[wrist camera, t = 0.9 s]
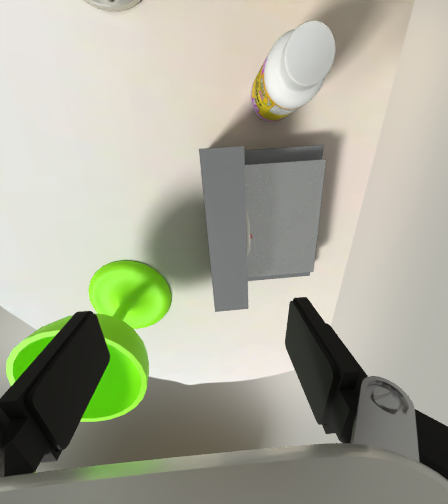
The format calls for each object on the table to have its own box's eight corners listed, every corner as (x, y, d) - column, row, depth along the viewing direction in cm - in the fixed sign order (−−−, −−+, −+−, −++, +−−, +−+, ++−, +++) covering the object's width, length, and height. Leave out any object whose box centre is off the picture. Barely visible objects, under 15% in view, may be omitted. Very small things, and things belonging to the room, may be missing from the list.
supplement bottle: (253, 64, 29) (283, -6, 17) (299, 72, 30) (358, 10, 18) (246, 119, 32) (268, 92, 20) (288, 125, 32) (334, 102, 20)
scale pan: (240, 165, 30) (241, 165, 29) (321, 159, 31) (326, 159, 30) (244, 274, 37) (245, 277, 36) (310, 268, 38) (313, 271, 36)
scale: (202, 154, 33) (199, 148, 23) (314, 146, 34) (359, 138, 23) (213, 276, 41) (215, 311, 31) (303, 268, 42) (332, 300, 32)
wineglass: (186, 305, 44) (172, 390, 27) (127, 338, 46) (80, 435, 30) (135, 245, 38) (78, 306, 21) (70, 286, 40) (-27, 370, 24)
